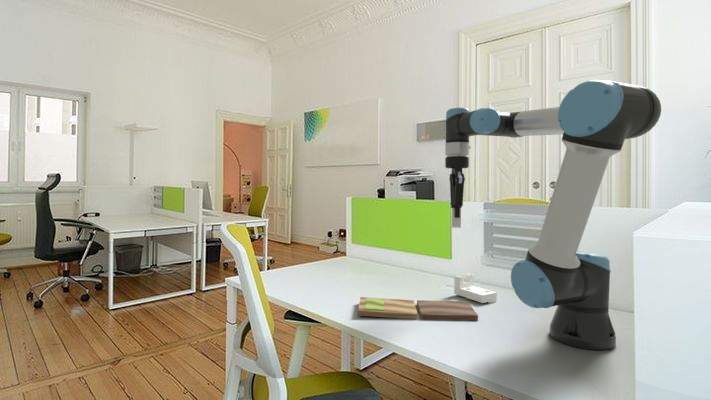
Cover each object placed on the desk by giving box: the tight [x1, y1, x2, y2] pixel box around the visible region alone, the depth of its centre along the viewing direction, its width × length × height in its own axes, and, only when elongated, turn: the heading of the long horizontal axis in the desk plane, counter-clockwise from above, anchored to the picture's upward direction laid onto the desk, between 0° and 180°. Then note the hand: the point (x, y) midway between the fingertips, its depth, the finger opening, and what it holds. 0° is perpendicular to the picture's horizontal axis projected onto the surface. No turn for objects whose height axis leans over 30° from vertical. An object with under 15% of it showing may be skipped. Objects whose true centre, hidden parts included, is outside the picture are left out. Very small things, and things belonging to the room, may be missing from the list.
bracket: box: [453, 273, 498, 304], centre depth 138 cm, size 13×7×8 cm, turn 32°
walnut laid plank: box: [416, 299, 479, 321], centre depth 124 cm, size 14×17×2 cm
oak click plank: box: [357, 296, 418, 320], centre depth 125 cm, size 14×18×2 cm
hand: (456, 227), depth 129 cm, fingers closed
